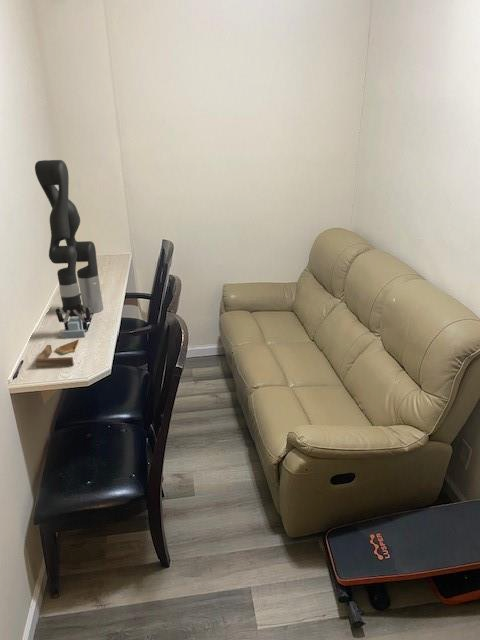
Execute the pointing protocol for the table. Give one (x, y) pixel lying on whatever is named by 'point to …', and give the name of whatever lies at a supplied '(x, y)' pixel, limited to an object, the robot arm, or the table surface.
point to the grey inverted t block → (74, 329)
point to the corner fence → (52, 359)
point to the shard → (67, 347)
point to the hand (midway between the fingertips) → (76, 329)
